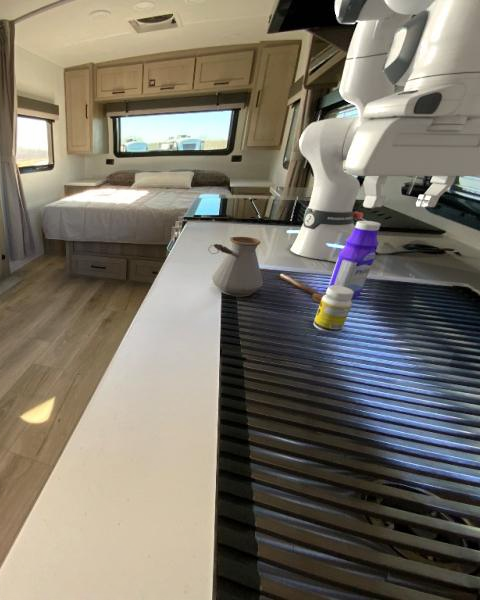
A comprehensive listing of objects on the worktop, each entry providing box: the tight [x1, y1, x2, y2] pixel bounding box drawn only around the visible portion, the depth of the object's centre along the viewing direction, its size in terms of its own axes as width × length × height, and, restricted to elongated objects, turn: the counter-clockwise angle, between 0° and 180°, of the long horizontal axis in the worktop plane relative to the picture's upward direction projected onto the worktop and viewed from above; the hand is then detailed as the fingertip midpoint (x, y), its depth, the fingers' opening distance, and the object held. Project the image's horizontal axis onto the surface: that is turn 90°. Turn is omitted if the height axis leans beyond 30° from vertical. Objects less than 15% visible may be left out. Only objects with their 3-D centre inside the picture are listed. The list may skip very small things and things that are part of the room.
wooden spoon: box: [279, 273, 326, 304], centre depth 82 cm, size 17×4×1 cm, turn 8°
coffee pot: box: [208, 236, 264, 298], centre depth 76 cm, size 21×12×15 cm, turn 132°
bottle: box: [327, 220, 382, 299], centre depth 76 cm, size 7×6×17 cm
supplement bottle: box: [313, 285, 354, 334], centre depth 64 cm, size 5×5×8 cm
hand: (398, 207), depth 51 cm, fingers open, 8 cm apart
